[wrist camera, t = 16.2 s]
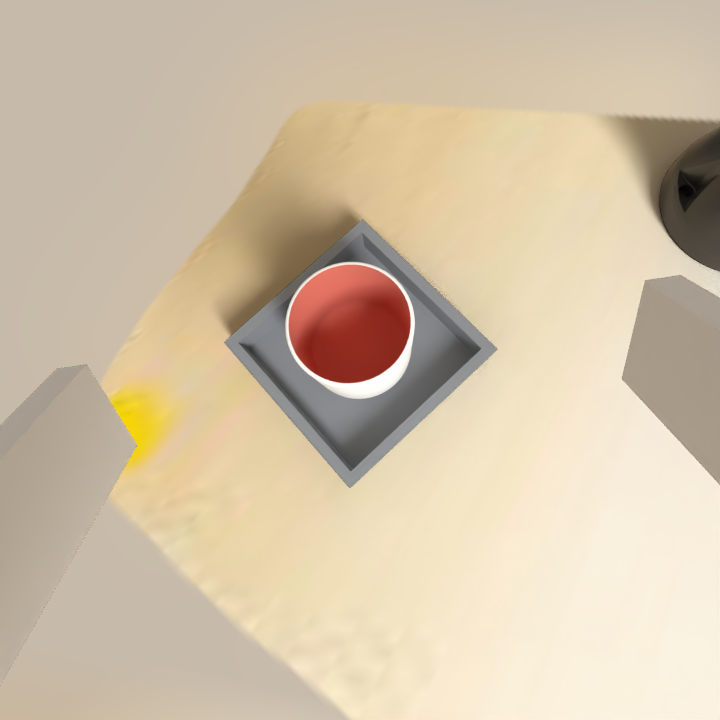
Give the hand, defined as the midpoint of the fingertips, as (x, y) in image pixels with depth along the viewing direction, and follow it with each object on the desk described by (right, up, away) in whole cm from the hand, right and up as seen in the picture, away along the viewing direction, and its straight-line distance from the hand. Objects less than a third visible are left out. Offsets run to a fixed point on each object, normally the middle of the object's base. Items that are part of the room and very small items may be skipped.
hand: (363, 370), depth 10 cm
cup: (0, +1, +32) cm, 32 cm away
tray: (0, +1, +33) cm, 33 cm away
